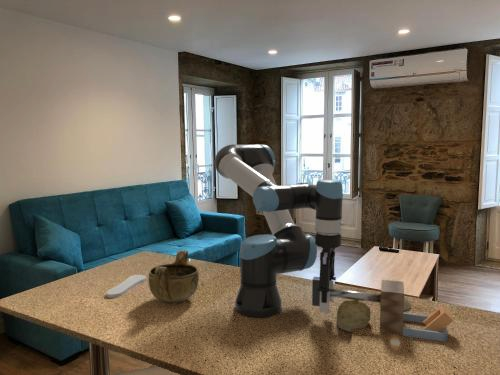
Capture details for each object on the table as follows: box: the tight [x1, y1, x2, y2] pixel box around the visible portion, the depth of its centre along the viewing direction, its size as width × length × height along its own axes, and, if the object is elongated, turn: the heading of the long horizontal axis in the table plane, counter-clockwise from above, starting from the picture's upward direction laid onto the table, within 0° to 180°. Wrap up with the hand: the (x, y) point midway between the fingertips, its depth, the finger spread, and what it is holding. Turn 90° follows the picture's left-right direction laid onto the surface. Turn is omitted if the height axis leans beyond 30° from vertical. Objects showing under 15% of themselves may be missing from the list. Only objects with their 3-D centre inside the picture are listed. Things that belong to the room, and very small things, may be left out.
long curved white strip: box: [105, 274, 147, 299], centre depth 153 cm, size 7×22×2 cm, turn 166°
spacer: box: [422, 305, 454, 332], centre depth 112 cm, size 3×5×7 cm
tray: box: [402, 312, 449, 343], centre depth 114 cm, size 11×11×4 cm
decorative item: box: [336, 299, 372, 333], centre depth 118 cm, size 10×10×10 cm
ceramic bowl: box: [148, 249, 200, 305], centre depth 139 cm, size 22×17×15 cm
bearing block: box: [379, 279, 405, 336], centre depth 116 cm, size 6×10×13 cm, turn 161°
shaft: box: [311, 276, 381, 307], centre depth 119 cm, size 22×3×8 cm, turn 71°
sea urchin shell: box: [378, 295, 411, 311], centre depth 131 cm, size 9×8×8 cm
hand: (326, 306), depth 122 cm, fingers open, 8 cm apart
